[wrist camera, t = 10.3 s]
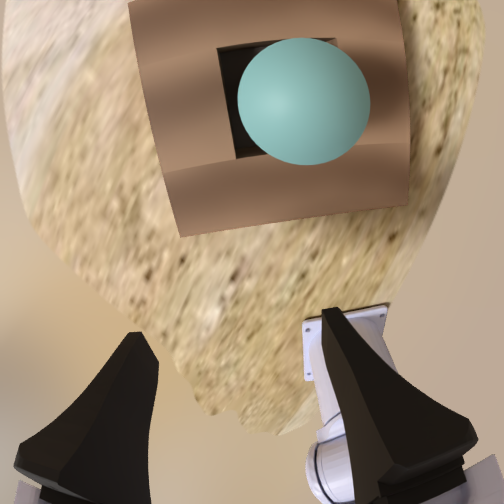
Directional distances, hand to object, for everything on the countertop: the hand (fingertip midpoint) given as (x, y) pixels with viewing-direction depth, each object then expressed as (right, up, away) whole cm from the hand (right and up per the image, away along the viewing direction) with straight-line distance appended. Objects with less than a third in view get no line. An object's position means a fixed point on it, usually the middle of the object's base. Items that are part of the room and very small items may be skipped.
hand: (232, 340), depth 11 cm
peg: (+2, +12, +4) cm, 13 cm away
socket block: (+2, +13, +4) cm, 14 cm away
